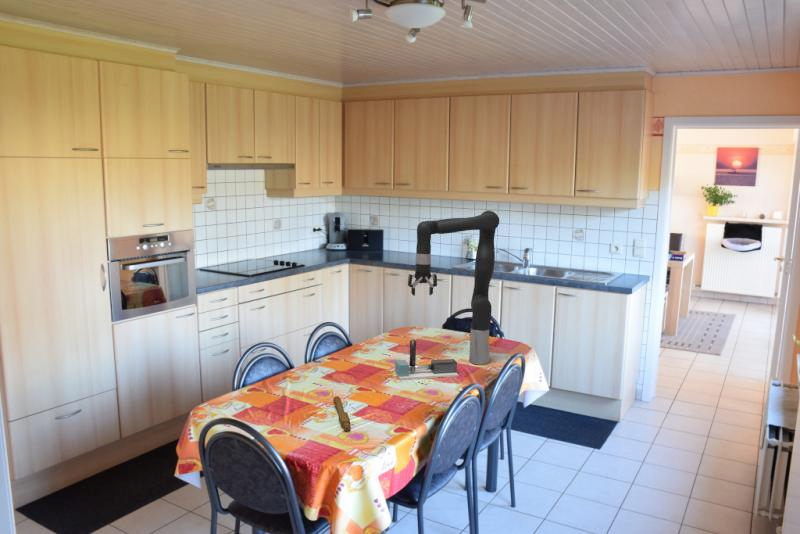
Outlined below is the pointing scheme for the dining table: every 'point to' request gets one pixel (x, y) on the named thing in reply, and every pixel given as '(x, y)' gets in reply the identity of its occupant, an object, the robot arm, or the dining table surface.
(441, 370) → the outer sleeve
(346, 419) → the brown wooden stick
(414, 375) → the base board
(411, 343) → the slip tube
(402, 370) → the socket block
